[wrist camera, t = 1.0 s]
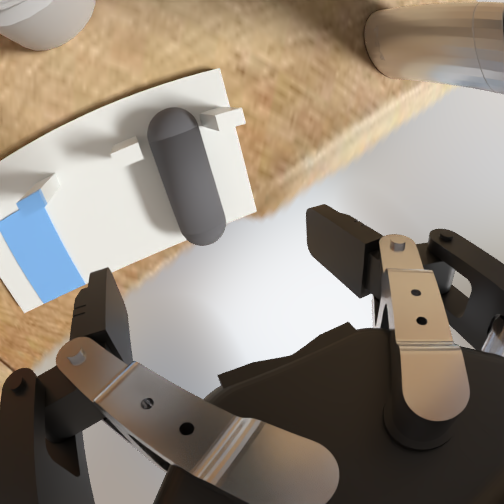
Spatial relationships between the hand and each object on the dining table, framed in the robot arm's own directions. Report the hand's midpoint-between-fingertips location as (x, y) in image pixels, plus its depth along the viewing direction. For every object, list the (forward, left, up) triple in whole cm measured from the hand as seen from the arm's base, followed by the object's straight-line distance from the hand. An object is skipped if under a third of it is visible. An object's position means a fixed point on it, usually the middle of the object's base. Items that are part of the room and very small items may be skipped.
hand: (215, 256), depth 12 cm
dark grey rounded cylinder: (-2, +1, -16) cm, 16 cm away
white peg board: (+6, 0, -17) cm, 18 cm away
